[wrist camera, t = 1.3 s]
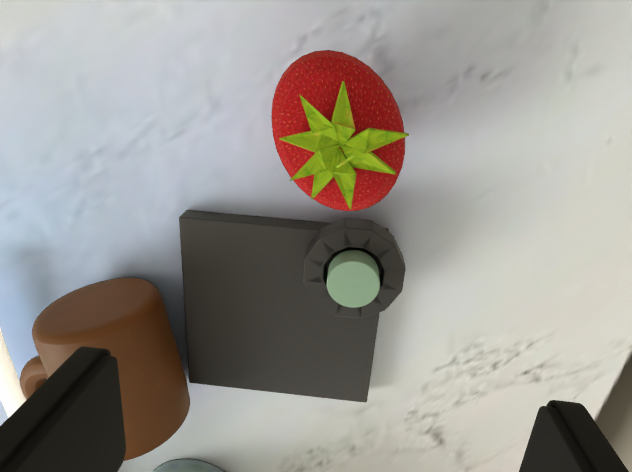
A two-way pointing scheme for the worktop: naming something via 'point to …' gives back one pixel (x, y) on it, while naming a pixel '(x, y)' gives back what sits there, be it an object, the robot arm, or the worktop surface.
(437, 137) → the worktop surface
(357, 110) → the strawberry
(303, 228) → the scale
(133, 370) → the mug
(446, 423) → the worktop surface
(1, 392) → the spatula
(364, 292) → the button
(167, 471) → the green plant pot
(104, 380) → the robot arm
